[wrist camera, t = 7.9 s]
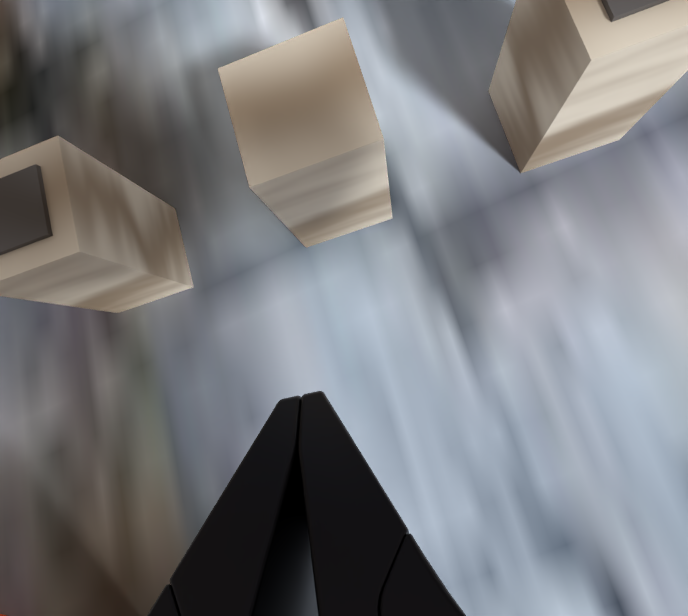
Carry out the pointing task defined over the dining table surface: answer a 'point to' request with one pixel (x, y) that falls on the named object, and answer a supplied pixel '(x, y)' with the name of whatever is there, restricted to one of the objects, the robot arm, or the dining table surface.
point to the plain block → (310, 134)
